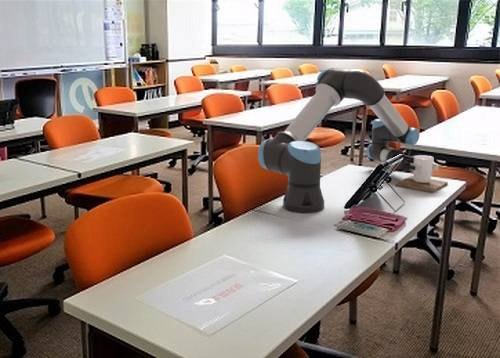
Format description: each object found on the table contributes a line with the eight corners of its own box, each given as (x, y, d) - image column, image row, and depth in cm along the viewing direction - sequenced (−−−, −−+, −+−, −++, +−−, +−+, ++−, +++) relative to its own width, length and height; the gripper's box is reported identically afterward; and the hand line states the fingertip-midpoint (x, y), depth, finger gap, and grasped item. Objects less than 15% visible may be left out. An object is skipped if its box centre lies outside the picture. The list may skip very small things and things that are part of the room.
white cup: (431, 183, 208) (433, 160, 206) (411, 182, 211) (413, 158, 208) (431, 178, 215) (433, 155, 213) (412, 177, 218) (414, 154, 215)
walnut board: (432, 193, 203) (432, 190, 202) (394, 185, 213) (395, 183, 213) (447, 184, 214) (447, 182, 214) (411, 177, 224) (411, 175, 224)
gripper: (410, 163, 233) (447, 174, 213) (373, 167, 225) (409, 180, 205) (411, 146, 231) (449, 157, 211) (374, 151, 223) (410, 162, 203)
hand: (429, 168), depth 208 cm, fingers closed on white cup, 8 cm apart
